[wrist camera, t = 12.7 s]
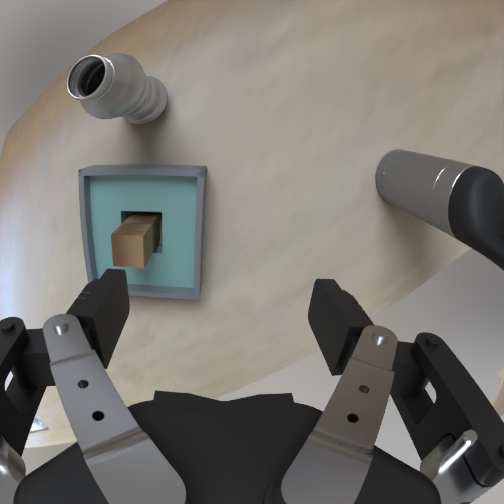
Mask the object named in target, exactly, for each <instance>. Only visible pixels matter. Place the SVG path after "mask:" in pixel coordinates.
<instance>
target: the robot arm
mask: <svg viewBox="0 0 504 504" xmlns="http://www.w3.org/2000/svg"><path fill="white" fill-rule="evenodd" d="M376 185H377V189H378V191H379V193H380V195H381V197H382V198H383V199H384V200H385V201H387V202H388V203H390V204H392V205H394V206H396V207H398V208H400V209H402V210H404V211H406V212H408V213H410V214H411V215H413V216H415V217H417V218H419V219H421V220H423V221H425V222H427V223H429V224H430V225H432V226H434V227H436V228H438V229H439V230H441V231H443V232H445V233H447V234H449V235H450V236H452V237H454V238H456V239H457V240H459V241H461V242H462V243H464V244H466V245H468V246H469V247H471V248H473V249H474V250H476V251H478V252H479V253H481V254H482V255H484V256H485V257H487V258H488V259H490V260H491V261H492V262H494V263H495V264H497V265H498V266H499V267H500V268H501V269H503V270H504V183H503V181H502V180H501V178H500V177H499V176H498V175H497V174H496V173H495V172H493V171H491V170H489V169H486V168H482V167H479V166H474V165H470V164H466V163H462V162H458V161H454V160H449V159H445V158H440V157H435V156H431V155H426V154H420V153H416V152H410V151H404V150H394V151H391V152H389V153H388V154H386V155H385V156H384V157H383V158H382V160H381V161H380V163H379V165H378V168H377V172H376ZM129 307H130V304H129V295H128V286H127V277H126V272H125V270H124V269H111V268H108V269H106V271H105V272H104V273H103V275H102V276H101V278H100V279H95V280H93V281H92V282H90V283H88V284H87V285H86V286H85V288H84V289H83V290H82V292H81V293H80V295H79V296H78V298H77V299H76V300H75V301H74V303H73V304H72V306H71V307H70V308H69V310H68V311H67V313H66V314H59V315H55V316H53V317H51V318H49V319H48V320H47V321H46V322H45V323H44V325H43V328H42V329H27V330H26V327H25V324H24V322H23V320H22V319H20V318H18V317H9V318H5V319H3V320H1V321H0V504H470V503H471V502H473V501H474V500H475V499H477V498H479V497H480V496H481V495H483V494H484V493H485V492H487V491H488V490H489V489H491V488H492V487H493V486H495V485H496V484H497V483H498V482H500V481H501V480H502V479H503V478H504V423H503V421H502V420H501V418H500V417H499V415H498V414H497V412H496V411H495V409H494V408H493V406H492V405H491V403H490V402H489V400H488V399H487V398H486V396H485V395H484V393H483V392H482V390H481V389H480V388H479V386H478V385H477V384H476V382H475V381H474V379H473V378H472V377H471V375H470V374H469V373H468V371H467V370H466V369H465V367H464V366H463V365H462V363H461V362H460V361H459V360H458V358H457V357H456V356H455V354H454V353H453V352H452V351H451V349H450V348H449V347H448V346H447V344H446V343H445V342H444V341H443V340H442V339H441V338H440V337H438V336H436V335H434V334H432V333H426V332H425V333H420V334H418V335H417V337H416V339H415V341H414V343H408V342H400V341H398V339H397V337H396V335H395V334H394V333H393V332H392V331H391V330H389V329H387V328H385V327H382V326H377V325H374V324H373V322H372V321H371V320H370V318H369V317H368V315H367V314H366V313H365V311H364V310H362V307H361V306H360V305H359V304H358V302H357V301H356V299H355V298H354V297H353V296H352V295H351V294H349V293H348V292H346V291H345V290H342V289H341V288H340V287H339V285H338V284H337V282H336V281H335V280H334V279H317V280H316V281H315V283H314V288H313V292H312V297H311V301H310V306H309V311H308V320H309V324H310V326H311V329H312V331H313V333H314V335H315V338H316V340H317V342H318V344H319V347H320V349H321V351H322V354H323V356H324V358H325V360H326V363H327V365H328V367H329V370H330V372H331V374H332V376H335V375H342V376H341V378H340V380H339V382H338V385H337V386H336V389H335V391H334V392H333V394H332V396H331V398H330V400H329V402H328V404H327V406H326V408H325V410H324V411H323V412H322V411H320V410H318V409H316V408H314V407H311V406H308V405H304V404H299V403H294V401H293V396H292V393H285V394H261V395H255V396H250V397H245V398H241V399H235V400H230V401H219V400H214V399H210V398H206V397H201V396H197V395H193V394H189V393H177V392H165V391H155V393H154V399H153V400H151V401H145V402H140V403H137V404H134V405H131V406H129V407H126V405H125V404H124V402H123V400H122V399H121V397H120V395H119V394H118V392H117V390H116V388H115V387H114V385H113V383H112V382H111V380H110V378H109V376H108V374H107V372H106V371H105V369H107V367H108V364H109V362H110V359H111V357H112V354H113V352H114V349H115V347H116V344H117V342H118V339H119V337H120V334H121V332H122V329H123V327H124V325H125V322H126V320H127V318H128V315H129ZM10 371H11V372H12V374H13V378H12V380H11V382H10V384H9V386H8V388H7V390H6V392H5V380H6V378H7V376H8V374H9V372H10ZM429 381H430V382H431V384H432V386H433V387H434V389H435V391H436V401H435V403H433V401H432V400H431V398H430V396H429V395H428V393H427V391H426V390H425V387H426V385H427V384H428V382H429ZM47 386H56V387H57V390H58V393H59V396H60V399H61V402H62V404H63V407H64V410H65V412H66V415H67V418H68V420H69V423H70V425H71V427H72V430H73V432H74V434H75V437H76V439H77V442H76V443H75V444H73V445H72V446H70V447H69V448H67V449H66V450H64V451H63V452H61V453H60V454H58V455H57V456H56V457H54V458H53V459H51V460H50V461H48V462H46V463H45V464H43V465H42V466H40V467H39V468H37V469H36V470H34V471H33V472H31V473H30V474H28V475H27V476H26V475H25V473H26V468H25V464H24V461H23V459H22V458H21V457H22V453H23V450H24V447H25V444H26V440H27V437H28V434H29V431H30V429H31V426H32V423H33V420H34V417H35V415H36V412H37V409H38V407H39V404H40V402H41V399H42V397H43V394H44V392H45V389H46V387H47ZM389 394H391V397H392V399H393V401H394V402H395V405H396V407H397V409H398V411H399V413H400V415H401V417H402V419H403V422H404V423H405V426H406V428H407V430H408V432H409V434H410V437H411V439H412V440H413V443H414V445H415V448H416V450H417V452H418V454H419V457H420V459H421V461H422V462H421V465H420V471H418V470H416V469H414V468H412V467H410V466H409V465H407V464H405V463H403V462H402V461H400V460H398V459H397V458H395V457H393V456H391V455H390V454H388V453H386V452H385V451H383V450H381V449H380V448H378V447H377V446H375V445H374V444H375V441H376V438H377V435H378V432H379V429H380V426H381V423H382V419H383V416H384V413H385V409H386V406H387V402H388V398H389Z"/></svg>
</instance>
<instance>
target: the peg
mask: <svg viewBox="0 0 504 504" xmlns="http://www.w3.org/2000/svg"><path fill="white" fill-rule="evenodd" d="M159 240H160V213H144V212H133V213H132V214H131V215H130V216H129V217H128V218H127V219H126V220H125V221H124V222H123V223H122V224H121V225H120V226H119V227H118V228H117V229H116V230H115V231H114V232H113V233H112V234H111V246H112V259H113V266H118V267H130V268H143V269H144V268H145V266H146V264H147V262H148V260H149V258H150V256H151V254H152V253H153V251H154V249H155V247H156V245H157V243H158V241H159Z"/></svg>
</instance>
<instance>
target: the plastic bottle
mask: <svg viewBox="0 0 504 504" xmlns="http://www.w3.org/2000/svg"><path fill="white" fill-rule="evenodd" d="M66 86H67V90H68V93H69V94H70V95H71V96H72V97H73V98H75V99H77V100H80V102H81V105H82V106H83V108H84V109H85V110H86V112H87V113H89V114H90V115H91V116H93V117H95V118H98V119H112V118H117V117H123V118H124V119H126V120H127V121H128V122H131V123H133V124H146V123H149V122H151V121H153V120H155V119H156V118H157V117H159V116H160V115H161V113H162V112H163V111H164V109H165V107H166V104H167V91H166V88H165V86H164V84H163V83H162V82H161V81H160V80H158V79H157V78H154V77H151V76H146V75H145V73H144V70H143V68H142V66H141V65H140V63H139V62H138V61H137V60H136V59H135V58H134V57H132V56H130V55H128V54H124V53H112V54H108V55H104V56H102V57H101V56H98V55H88V56H85V57H83V58H81V59H80V60H78V61H77V62H76V63H75V64H74V65H73V67H72V68H71V70H70V72H69V74H68V77H67V82H66Z"/></svg>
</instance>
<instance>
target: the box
mask: <svg viewBox="0 0 504 504" xmlns="http://www.w3.org/2000/svg"><path fill="white" fill-rule="evenodd" d="M206 170H207V166H184V165H93V166H90V167H87V168H83V169H80V170H79V201H80V217H81V229H82V239H83V248H84V256H85V264H86V270H87V277H88V283H90V282H92V281H93V280H95V279H100V278H101V276H102V275H103V273H104V272H105V271H106V269H108V268H111V269H124V270H125V272H126V277H127V286H128V295H130V296H142V297H156V298H171V299H188V300H200V292H201V279H202V245H203V222H204V202H205V185H206ZM127 211H146V212H162V246H158V245H156V247H155V249H154V251H153V253H152V254H151V256H150V258H149V260H148V262H147V264H146V266H145V268H144V269H143V268H130V267H118V266H113V259H112V246H111V234H112V233H113V232H114V231H115V230H116V229H117V228H118V227H119V226H120V225H121V224H122V223H123V222H124V221H125V220H126V219H127Z"/></svg>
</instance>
